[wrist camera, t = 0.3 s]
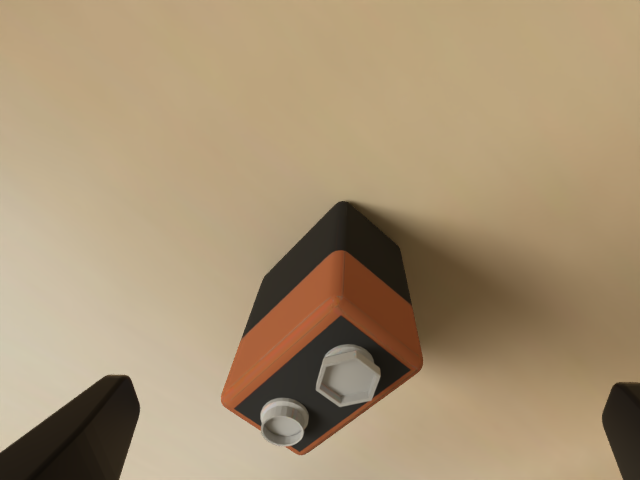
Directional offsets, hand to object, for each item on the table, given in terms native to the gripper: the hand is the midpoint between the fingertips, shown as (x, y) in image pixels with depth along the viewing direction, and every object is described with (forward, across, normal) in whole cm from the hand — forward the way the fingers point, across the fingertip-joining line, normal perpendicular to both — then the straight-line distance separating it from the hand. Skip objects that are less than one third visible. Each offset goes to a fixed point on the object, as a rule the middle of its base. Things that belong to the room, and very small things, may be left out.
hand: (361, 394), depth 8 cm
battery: (+14, +2, +6) cm, 16 cm away
